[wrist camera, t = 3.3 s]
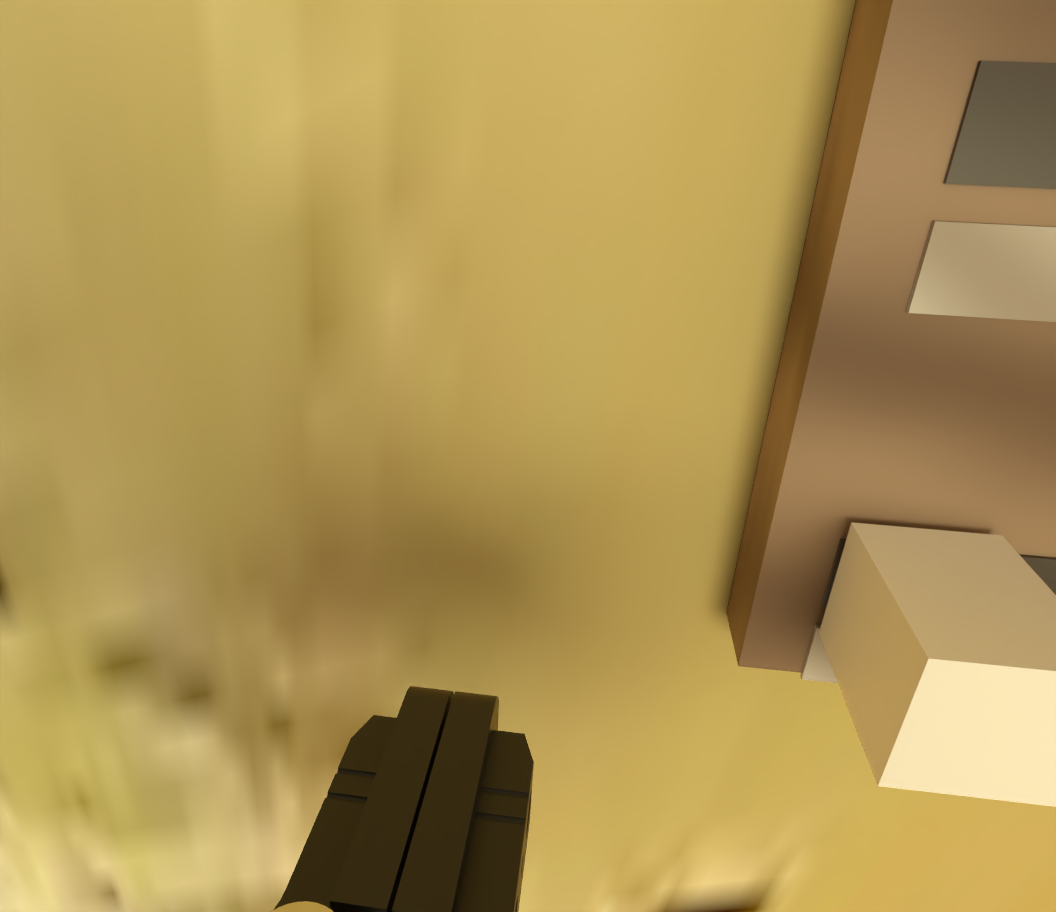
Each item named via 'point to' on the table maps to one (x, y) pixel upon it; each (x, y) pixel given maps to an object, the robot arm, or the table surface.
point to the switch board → (914, 316)
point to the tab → (946, 662)
